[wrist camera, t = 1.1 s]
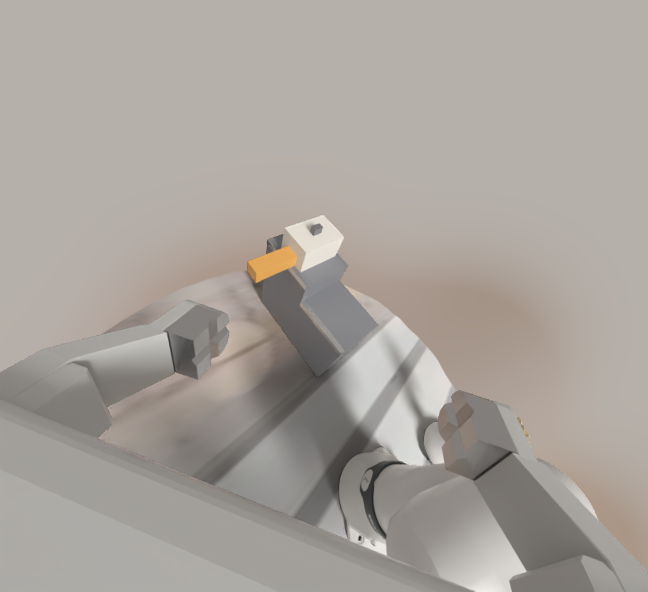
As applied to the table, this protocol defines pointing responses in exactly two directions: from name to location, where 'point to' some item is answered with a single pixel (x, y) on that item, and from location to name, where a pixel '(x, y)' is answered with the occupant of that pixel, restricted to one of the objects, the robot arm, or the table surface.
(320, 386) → the table surface
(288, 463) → the table surface
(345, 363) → the table surface
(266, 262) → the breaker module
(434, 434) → the flower in vase
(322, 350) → the stand
